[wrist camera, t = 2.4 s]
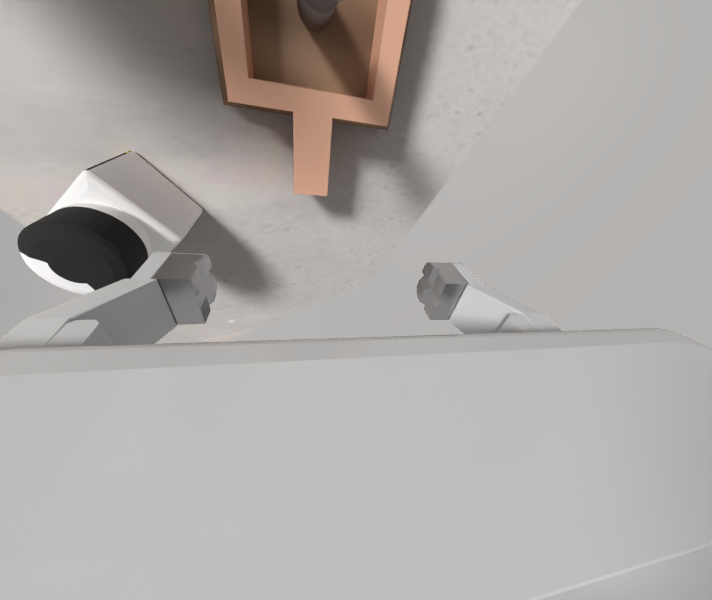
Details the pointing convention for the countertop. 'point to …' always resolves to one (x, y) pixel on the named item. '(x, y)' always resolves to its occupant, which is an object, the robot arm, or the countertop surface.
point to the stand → (310, 46)
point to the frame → (308, 103)
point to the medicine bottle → (107, 225)
